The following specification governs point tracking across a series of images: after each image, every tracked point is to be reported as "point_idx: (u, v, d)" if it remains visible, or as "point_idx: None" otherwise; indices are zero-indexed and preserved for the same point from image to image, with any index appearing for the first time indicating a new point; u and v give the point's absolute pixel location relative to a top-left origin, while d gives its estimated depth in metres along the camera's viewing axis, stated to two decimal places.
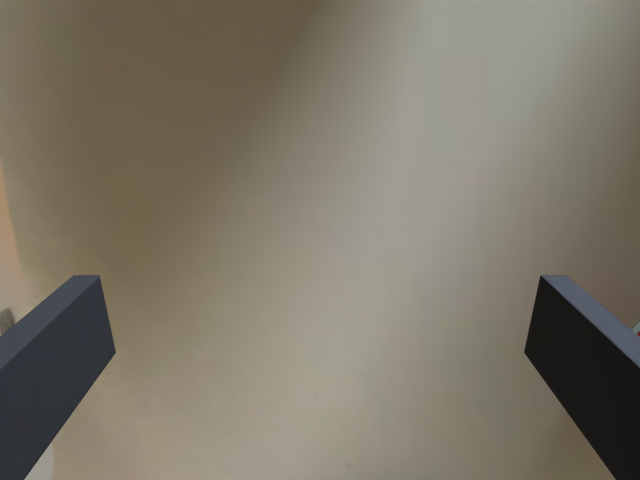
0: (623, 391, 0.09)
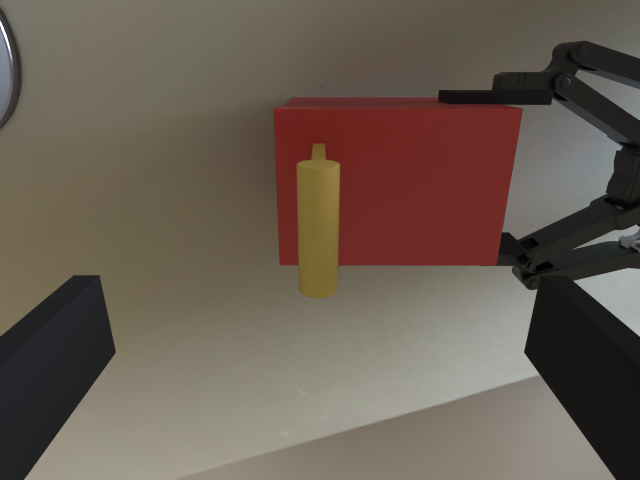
0: (623, 391, 0.09)
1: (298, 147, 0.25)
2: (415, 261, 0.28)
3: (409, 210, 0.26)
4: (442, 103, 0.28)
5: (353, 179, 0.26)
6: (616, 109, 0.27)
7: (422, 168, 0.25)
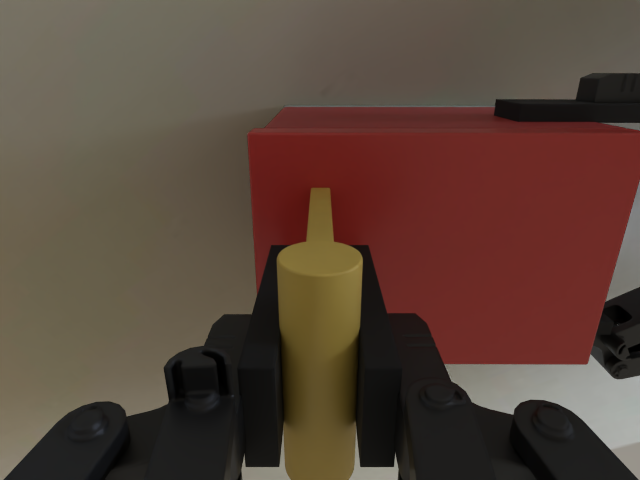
0: None
1: (287, 193, 0.16)
2: (466, 358, 0.18)
3: (460, 287, 0.17)
4: (506, 120, 0.18)
5: (374, 241, 0.16)
6: None
7: (485, 225, 0.16)
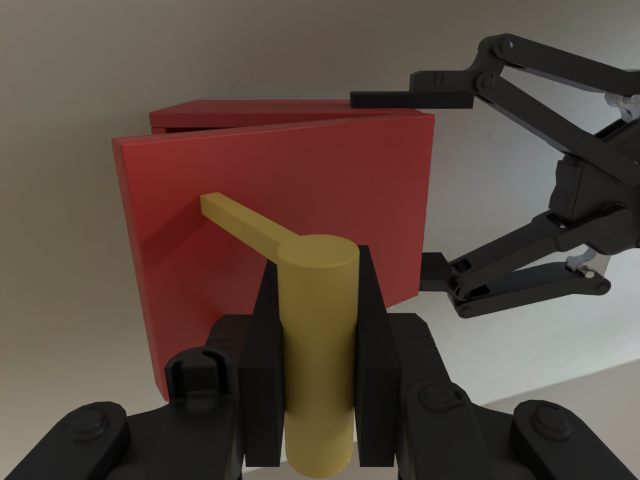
0: None
1: (175, 205, 0.14)
2: None
3: None
4: (348, 107, 0.24)
5: None
6: (549, 113, 0.23)
7: (346, 202, 0.19)
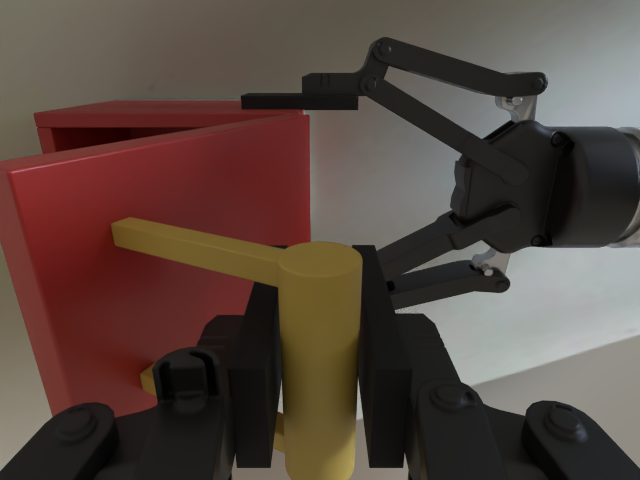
0: (362, 329, 0.11)
1: (83, 240, 0.11)
2: None
3: None
4: (239, 108, 0.24)
5: None
6: (434, 115, 0.24)
7: (249, 209, 0.18)
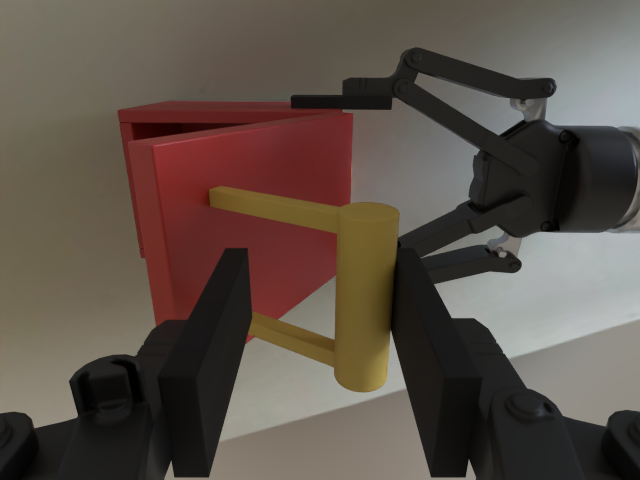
0: (414, 335, 0.11)
1: (191, 199, 0.15)
2: (305, 294, 0.24)
3: (297, 241, 0.22)
4: (288, 107, 0.28)
5: (252, 224, 0.19)
6: (457, 114, 0.28)
7: (303, 189, 0.22)
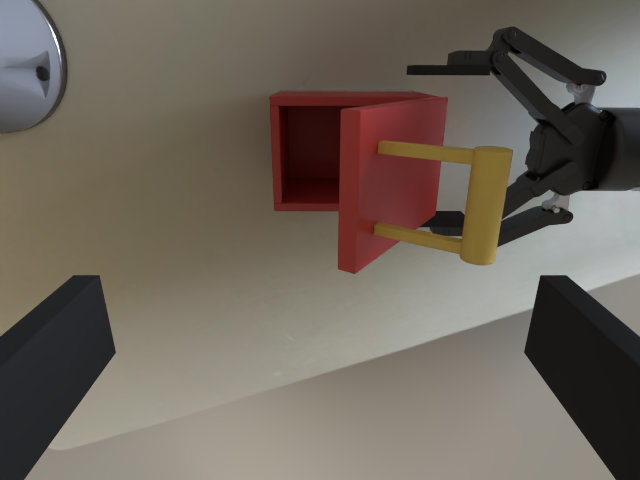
0: (623, 391, 0.09)
1: (370, 147, 0.25)
2: (411, 229, 0.33)
3: (411, 187, 0.31)
4: (389, 94, 0.37)
5: (393, 170, 0.28)
6: (534, 87, 0.36)
7: None
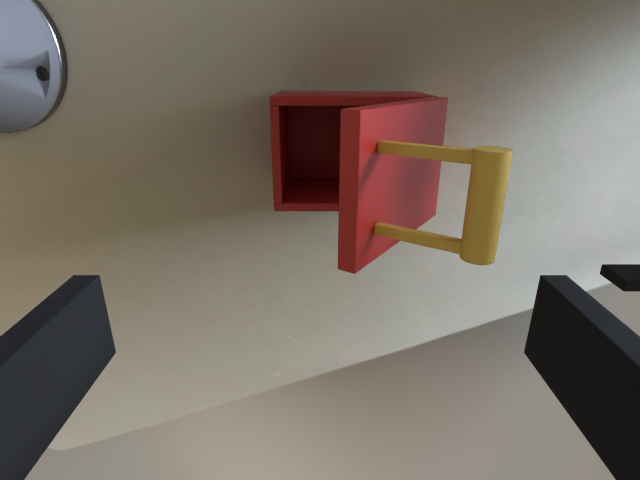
0: (623, 391, 0.09)
1: (371, 147, 0.25)
2: (412, 229, 0.33)
3: (411, 187, 0.31)
4: (389, 94, 0.37)
5: (393, 170, 0.28)
6: None
7: None
